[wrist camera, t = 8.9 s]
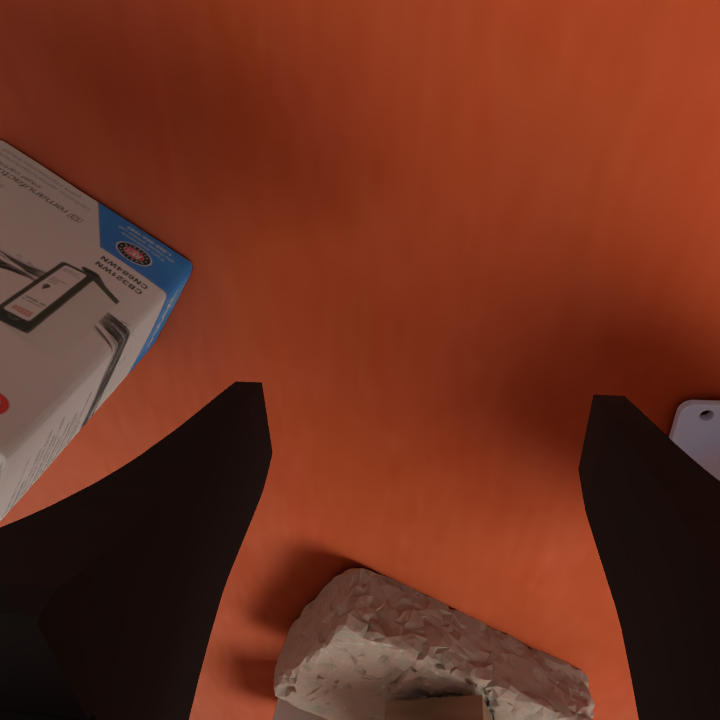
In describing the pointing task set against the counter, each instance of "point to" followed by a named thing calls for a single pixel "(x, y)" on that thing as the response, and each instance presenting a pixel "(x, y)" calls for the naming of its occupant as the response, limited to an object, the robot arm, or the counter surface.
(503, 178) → the counter surface
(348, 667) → the brick
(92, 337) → the ink box
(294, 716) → the grey block
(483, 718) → the walnut block
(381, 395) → the counter surface
